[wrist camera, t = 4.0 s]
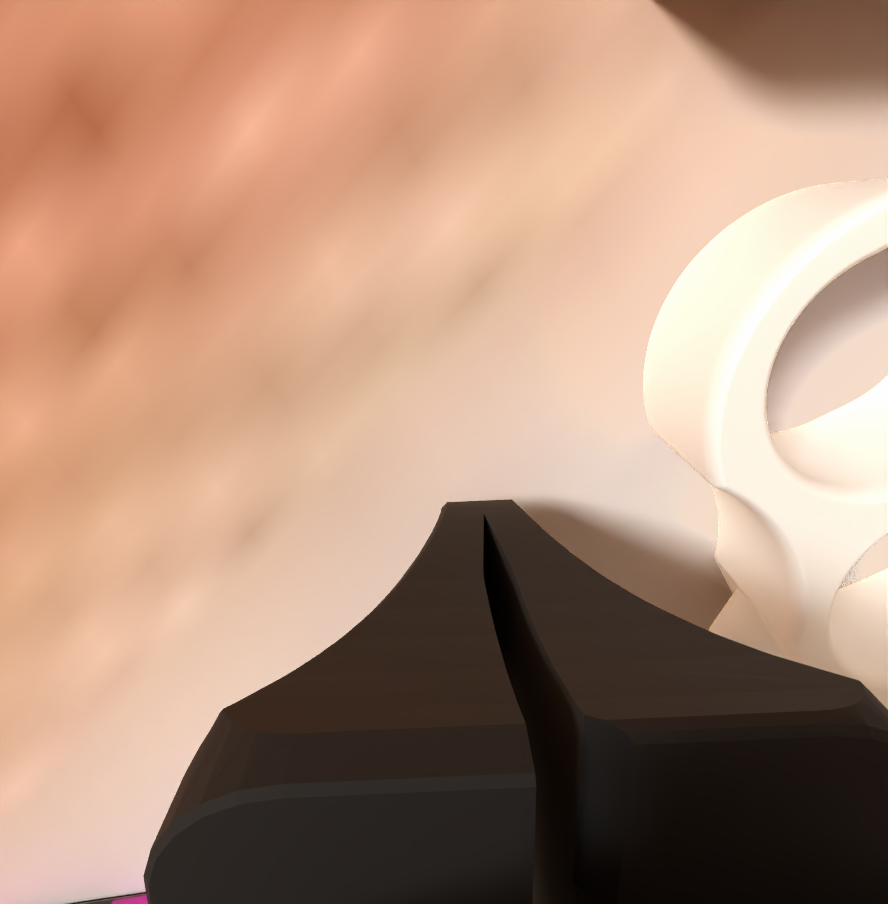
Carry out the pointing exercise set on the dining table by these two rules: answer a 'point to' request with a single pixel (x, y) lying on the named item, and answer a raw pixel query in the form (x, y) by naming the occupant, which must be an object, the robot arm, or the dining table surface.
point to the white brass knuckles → (780, 432)
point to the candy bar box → (122, 900)
